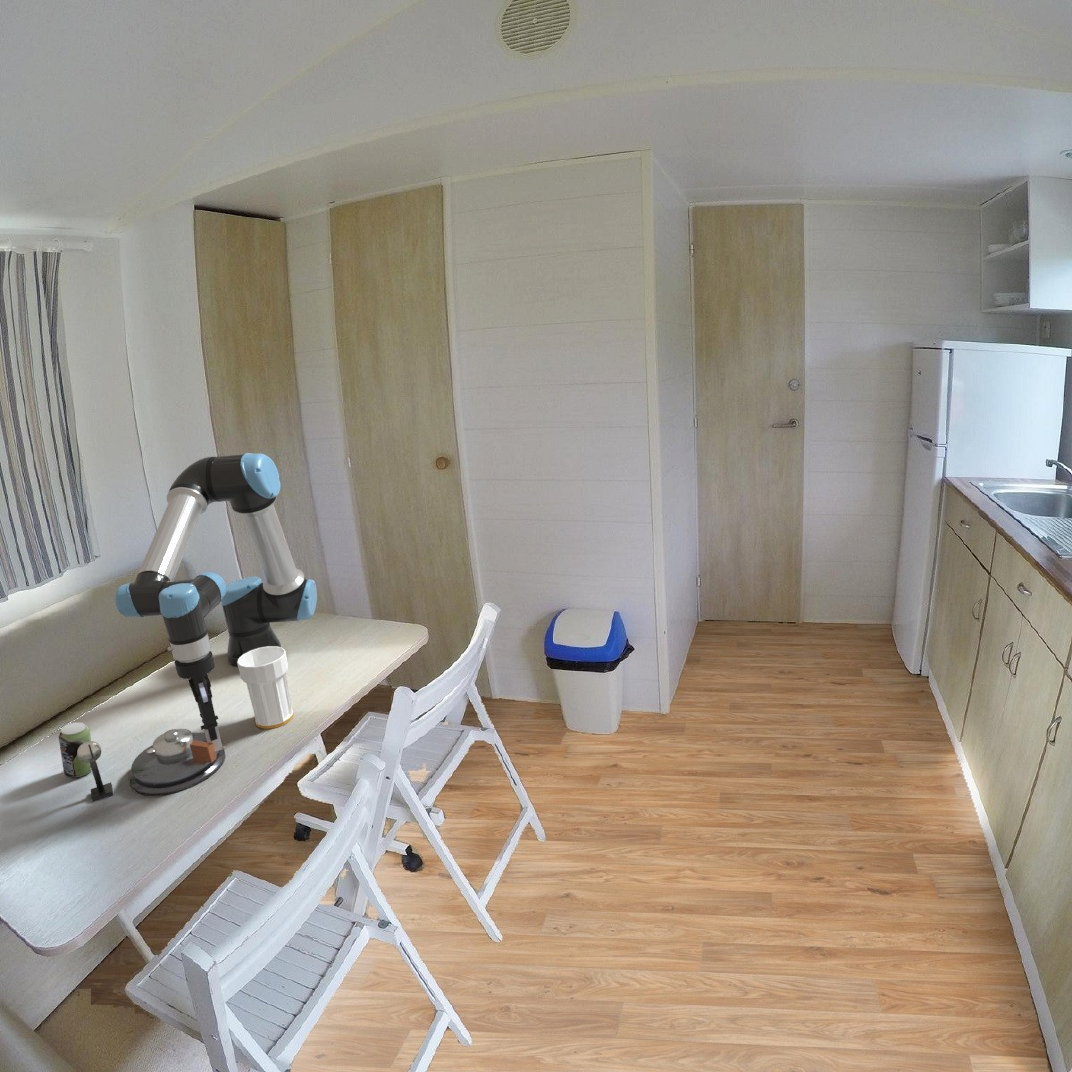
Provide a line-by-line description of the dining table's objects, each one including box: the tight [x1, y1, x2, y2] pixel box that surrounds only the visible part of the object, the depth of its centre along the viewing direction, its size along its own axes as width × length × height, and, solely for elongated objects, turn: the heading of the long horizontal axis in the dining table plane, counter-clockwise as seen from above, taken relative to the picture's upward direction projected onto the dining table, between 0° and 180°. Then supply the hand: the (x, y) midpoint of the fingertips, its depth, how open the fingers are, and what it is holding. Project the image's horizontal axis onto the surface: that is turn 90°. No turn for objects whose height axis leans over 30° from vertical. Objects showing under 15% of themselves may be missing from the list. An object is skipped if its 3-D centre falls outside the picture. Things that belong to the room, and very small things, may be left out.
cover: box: [152, 728, 194, 764], centre depth 173 cm, size 8×8×6 cm
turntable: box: [130, 732, 220, 788], centre depth 173 cm, size 18×20×6 cm
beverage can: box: [58, 721, 92, 778], centre depth 174 cm, size 6×7×12 cm
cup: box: [237, 646, 294, 730], centre depth 189 cm, size 11×11×17 cm
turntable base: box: [128, 745, 226, 797], centre depth 174 cm, size 20×20×1 cm
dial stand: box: [77, 740, 114, 803], centre depth 165 cm, size 4×4×13 cm
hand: (216, 749), depth 172 cm, fingers closed
